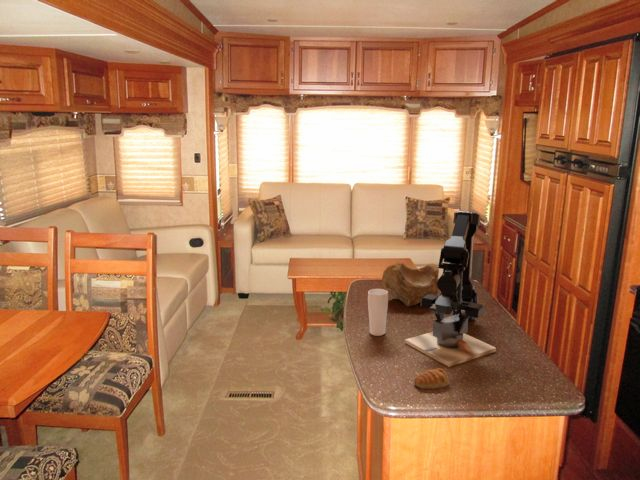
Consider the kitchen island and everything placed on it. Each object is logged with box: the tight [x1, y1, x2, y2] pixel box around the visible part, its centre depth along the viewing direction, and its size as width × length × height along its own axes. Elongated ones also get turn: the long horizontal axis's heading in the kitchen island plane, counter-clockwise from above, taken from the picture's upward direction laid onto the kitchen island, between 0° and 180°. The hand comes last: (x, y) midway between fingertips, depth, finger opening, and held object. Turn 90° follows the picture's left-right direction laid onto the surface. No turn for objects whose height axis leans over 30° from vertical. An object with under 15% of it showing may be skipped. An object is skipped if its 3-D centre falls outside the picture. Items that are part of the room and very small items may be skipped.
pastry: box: [413, 367, 450, 390], centre depth 146 cm, size 9×7×4 cm
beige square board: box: [404, 331, 497, 368], centre depth 169 cm, size 20×20×1 cm
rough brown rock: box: [381, 261, 440, 307], centre depth 209 cm, size 23×17×15 cm
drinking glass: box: [367, 288, 389, 337], centre depth 178 cm, size 7×7×15 cm
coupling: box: [432, 314, 469, 350], centre depth 166 cm, size 11×11×8 cm
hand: (450, 331), depth 168 cm, fingers closed on coupling, 5 cm apart
